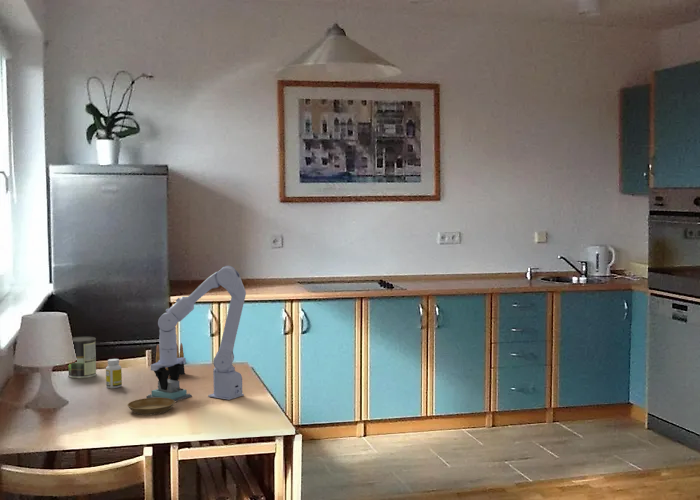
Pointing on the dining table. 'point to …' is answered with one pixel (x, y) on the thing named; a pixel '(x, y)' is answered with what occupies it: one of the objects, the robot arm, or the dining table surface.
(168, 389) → the block
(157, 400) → the plant saucer
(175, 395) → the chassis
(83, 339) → the coffee can
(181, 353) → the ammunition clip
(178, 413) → the dining table surface
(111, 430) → the dining table surface
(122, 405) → the dining table surface
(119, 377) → the supplement bottle
